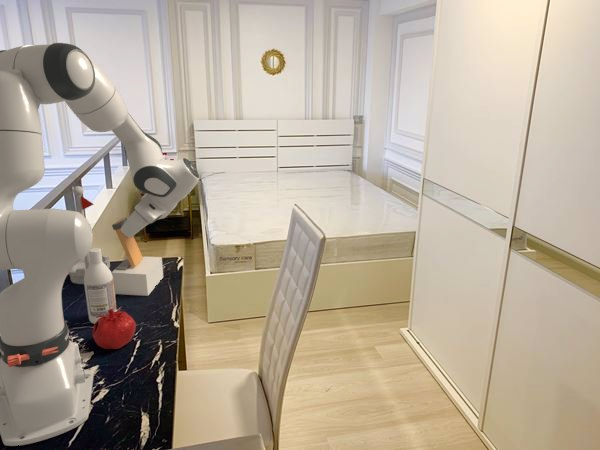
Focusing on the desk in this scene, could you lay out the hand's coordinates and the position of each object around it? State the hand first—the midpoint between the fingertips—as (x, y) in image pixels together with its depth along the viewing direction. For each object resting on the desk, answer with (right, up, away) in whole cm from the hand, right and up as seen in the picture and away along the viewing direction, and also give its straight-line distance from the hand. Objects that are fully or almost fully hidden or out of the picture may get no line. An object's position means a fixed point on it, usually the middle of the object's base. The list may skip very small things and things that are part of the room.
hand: (128, 233), depth 137 cm
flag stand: (-16, -14, +10) cm, 24 cm away
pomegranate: (+6, -26, -24) cm, 36 cm away
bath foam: (-1, -23, -14) cm, 27 cm away
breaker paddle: (+2, -10, +3) cm, 10 cm away
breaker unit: (+2, -16, +5) cm, 17 cm away
